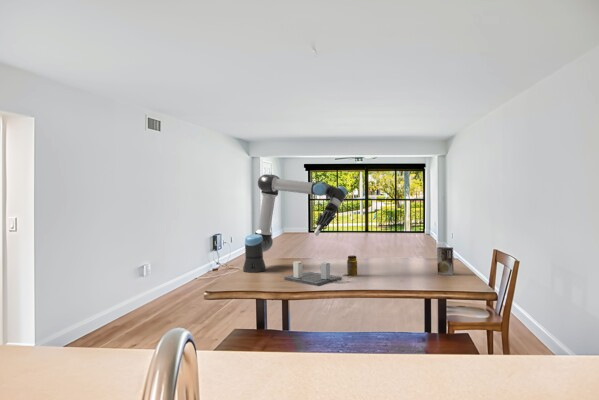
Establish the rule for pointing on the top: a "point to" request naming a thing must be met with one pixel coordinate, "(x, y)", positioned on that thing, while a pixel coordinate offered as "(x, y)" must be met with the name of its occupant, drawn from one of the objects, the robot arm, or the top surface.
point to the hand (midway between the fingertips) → (315, 234)
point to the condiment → (351, 266)
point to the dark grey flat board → (312, 279)
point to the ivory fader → (297, 269)
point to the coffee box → (445, 260)
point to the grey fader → (325, 270)
